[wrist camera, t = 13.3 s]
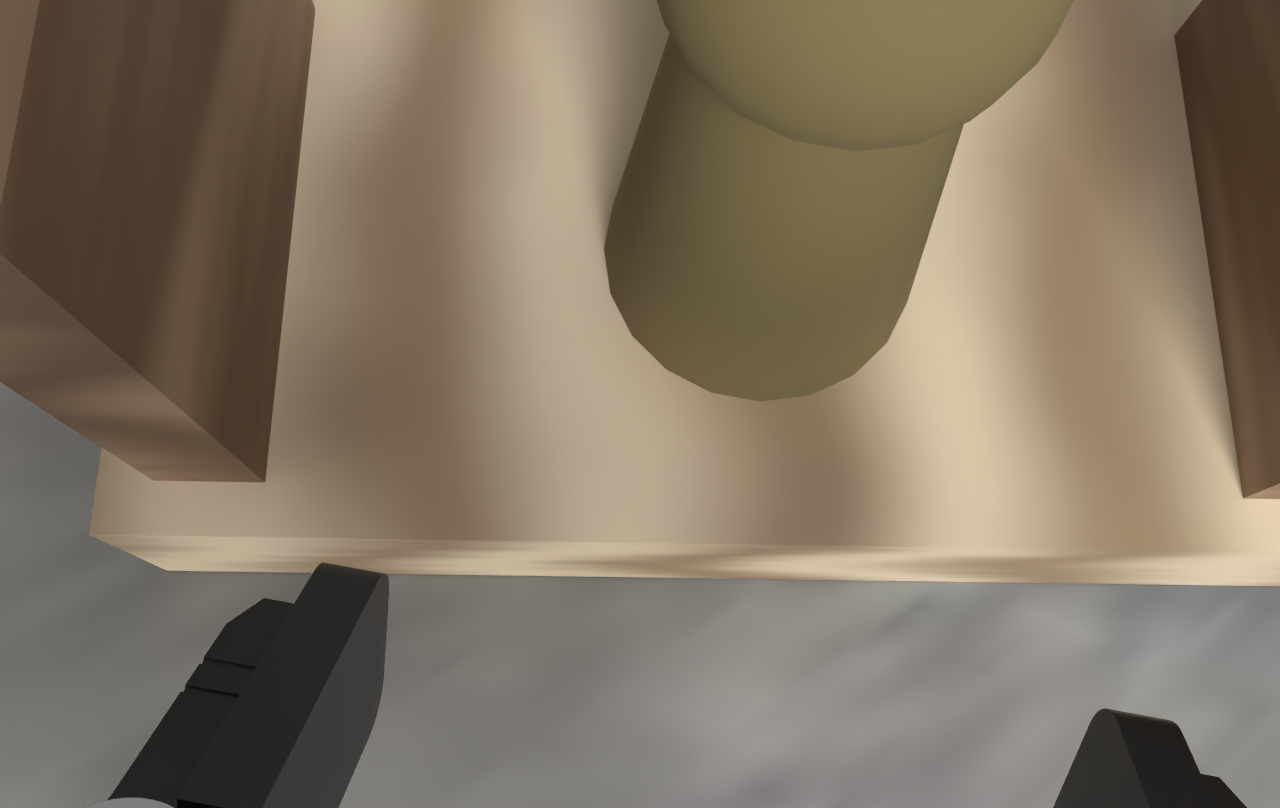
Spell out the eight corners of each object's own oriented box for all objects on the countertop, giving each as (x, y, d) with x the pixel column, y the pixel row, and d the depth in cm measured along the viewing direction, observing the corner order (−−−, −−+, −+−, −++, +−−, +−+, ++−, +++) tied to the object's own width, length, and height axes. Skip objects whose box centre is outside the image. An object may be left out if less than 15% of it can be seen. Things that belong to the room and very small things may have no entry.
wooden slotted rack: (167, 570, 24) (-345, 335, 11) (231, 73, 28) (-99, -558, 15) (1287, 585, 25) (2063, 385, 12) (1211, 101, 29) (1744, -473, 15)
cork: (724, 65, 24) (825, -480, 13) (970, 229, 23) (1285, -217, 13) (540, 278, 22) (494, -149, 12) (797, 464, 22) (992, 179, 11)
